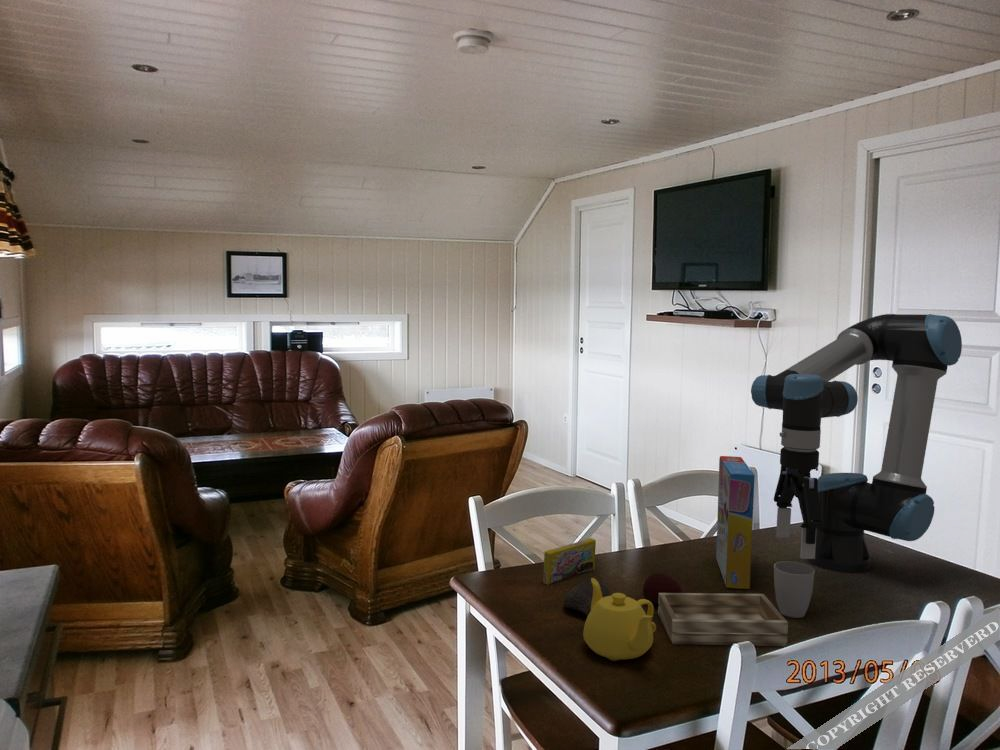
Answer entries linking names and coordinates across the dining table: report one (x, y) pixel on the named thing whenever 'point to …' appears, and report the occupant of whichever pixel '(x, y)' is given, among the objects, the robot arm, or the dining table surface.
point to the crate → (721, 619)
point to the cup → (793, 587)
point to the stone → (583, 596)
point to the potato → (659, 586)
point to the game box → (735, 521)
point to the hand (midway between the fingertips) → (794, 547)
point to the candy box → (569, 561)
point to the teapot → (618, 625)
